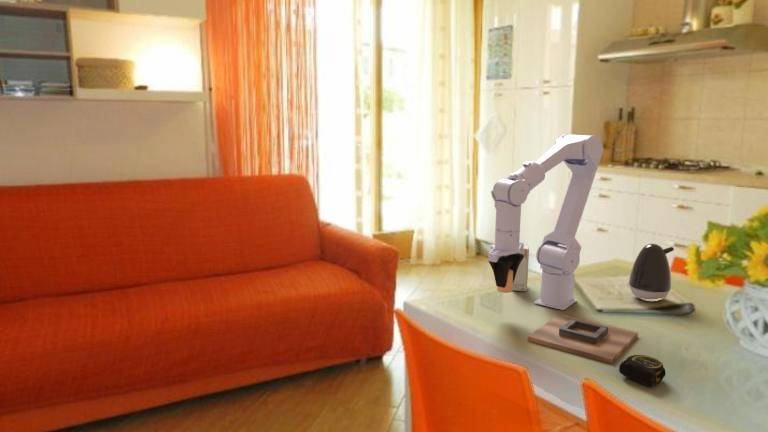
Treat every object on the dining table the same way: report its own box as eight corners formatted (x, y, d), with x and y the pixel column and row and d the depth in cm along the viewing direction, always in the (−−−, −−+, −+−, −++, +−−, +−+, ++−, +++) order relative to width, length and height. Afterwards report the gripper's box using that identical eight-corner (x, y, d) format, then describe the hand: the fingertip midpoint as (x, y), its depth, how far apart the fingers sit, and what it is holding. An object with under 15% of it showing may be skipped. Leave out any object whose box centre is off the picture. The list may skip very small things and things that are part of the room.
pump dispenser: (677, 305, 147) (683, 248, 144) (637, 305, 147) (642, 248, 144) (659, 293, 157) (664, 239, 154) (621, 292, 157) (626, 239, 154)
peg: (501, 287, 140) (502, 267, 139) (514, 290, 137) (515, 270, 136) (494, 290, 137) (495, 270, 136) (508, 293, 135) (508, 273, 134)
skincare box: (527, 292, 157) (529, 249, 154) (511, 291, 157) (513, 248, 155) (526, 285, 163) (528, 243, 161) (510, 284, 164) (512, 243, 161)
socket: (559, 317, 138) (560, 307, 137) (637, 336, 126) (638, 325, 126) (527, 340, 124) (528, 329, 123) (611, 364, 113) (612, 352, 112)
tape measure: (616, 377, 108) (617, 359, 107) (637, 368, 111) (638, 350, 111) (650, 392, 102) (652, 373, 101) (670, 382, 106) (672, 363, 105)
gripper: (506, 222, 142) (503, 274, 145) (477, 232, 131) (475, 288, 134) (532, 226, 138) (529, 280, 140) (505, 236, 127) (502, 294, 129)
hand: (504, 284), depth 137 cm, fingers closed on peg, 4 cm apart
